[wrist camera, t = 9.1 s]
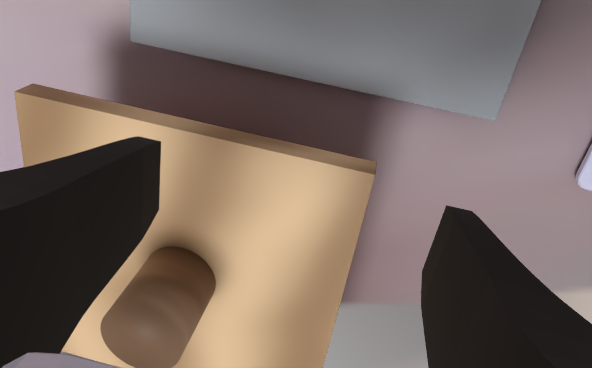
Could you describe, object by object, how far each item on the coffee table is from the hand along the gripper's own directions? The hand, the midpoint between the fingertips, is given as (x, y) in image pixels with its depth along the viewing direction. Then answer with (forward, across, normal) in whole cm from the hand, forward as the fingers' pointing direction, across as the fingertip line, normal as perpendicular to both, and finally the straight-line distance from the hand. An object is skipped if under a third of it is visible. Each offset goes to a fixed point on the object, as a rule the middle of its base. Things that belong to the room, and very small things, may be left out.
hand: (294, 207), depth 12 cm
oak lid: (+6, +4, +7) cm, 10 cm away
